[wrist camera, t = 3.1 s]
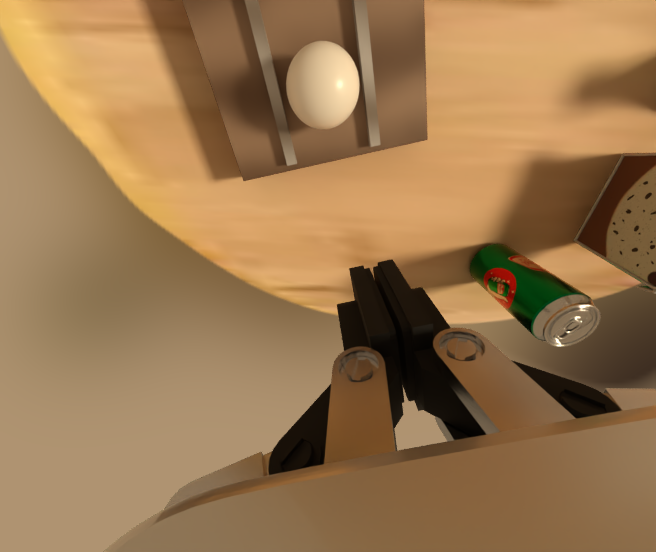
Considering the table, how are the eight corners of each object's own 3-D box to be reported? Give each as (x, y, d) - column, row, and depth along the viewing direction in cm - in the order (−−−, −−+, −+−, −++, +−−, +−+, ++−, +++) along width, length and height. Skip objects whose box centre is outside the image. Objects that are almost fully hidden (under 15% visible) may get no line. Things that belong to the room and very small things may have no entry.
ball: (280, 59, 20) (272, 42, 16) (348, 42, 20) (359, 20, 16) (298, 135, 23) (295, 138, 18) (358, 121, 22) (370, 120, 18)
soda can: (519, 256, 33) (618, 319, 22) (485, 287, 34) (561, 358, 24) (492, 233, 31) (585, 289, 20) (458, 266, 33) (528, 333, 22)
